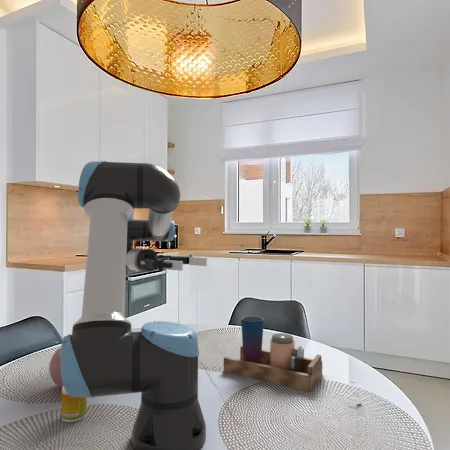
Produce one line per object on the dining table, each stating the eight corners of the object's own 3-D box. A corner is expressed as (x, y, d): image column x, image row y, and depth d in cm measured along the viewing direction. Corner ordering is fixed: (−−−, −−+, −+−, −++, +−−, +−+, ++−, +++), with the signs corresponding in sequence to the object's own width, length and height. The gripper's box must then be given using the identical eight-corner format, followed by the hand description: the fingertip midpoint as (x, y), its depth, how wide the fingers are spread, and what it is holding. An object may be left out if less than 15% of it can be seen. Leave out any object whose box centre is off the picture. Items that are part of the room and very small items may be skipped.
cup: (253, 374, 103) (254, 322, 103) (236, 368, 107) (236, 318, 107) (267, 368, 108) (268, 318, 108) (250, 362, 112) (250, 314, 112)
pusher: (290, 383, 97) (290, 351, 97) (300, 371, 105) (300, 342, 105) (294, 384, 96) (294, 352, 96) (303, 371, 105) (304, 342, 104)
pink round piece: (99, 391, 94) (99, 348, 94) (48, 401, 89) (49, 355, 88) (94, 374, 105) (94, 335, 105) (49, 382, 99) (49, 341, 99)
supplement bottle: (83, 422, 80) (83, 379, 80) (58, 424, 79) (58, 380, 79) (88, 409, 85) (89, 369, 85) (65, 411, 84) (65, 370, 84)
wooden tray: (223, 374, 105) (223, 351, 105) (241, 360, 116) (242, 339, 116) (310, 395, 93) (311, 368, 93) (322, 377, 104) (322, 353, 104)
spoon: (360, 387, 98) (360, 382, 98) (375, 430, 78) (375, 422, 78) (344, 386, 99) (344, 380, 99) (355, 427, 79) (355, 420, 79)
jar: (298, 378, 101) (299, 339, 100) (276, 381, 99) (276, 341, 99) (287, 369, 107) (288, 331, 107) (266, 371, 105) (266, 333, 105)
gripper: (165, 267, 133) (214, 271, 123) (115, 275, 111) (170, 281, 101) (165, 247, 133) (214, 249, 123) (115, 251, 111) (170, 254, 101)
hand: (194, 263), depth 112 cm, fingers open, 13 cm apart
